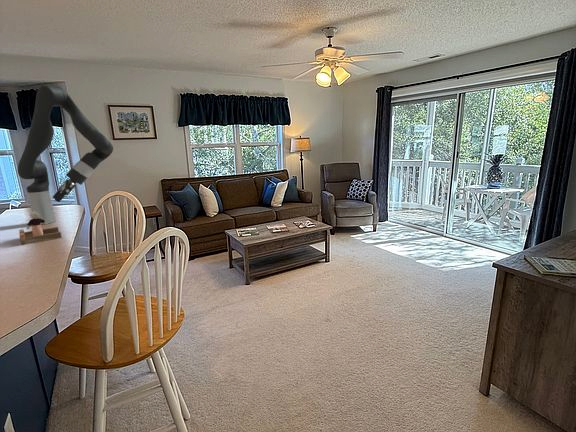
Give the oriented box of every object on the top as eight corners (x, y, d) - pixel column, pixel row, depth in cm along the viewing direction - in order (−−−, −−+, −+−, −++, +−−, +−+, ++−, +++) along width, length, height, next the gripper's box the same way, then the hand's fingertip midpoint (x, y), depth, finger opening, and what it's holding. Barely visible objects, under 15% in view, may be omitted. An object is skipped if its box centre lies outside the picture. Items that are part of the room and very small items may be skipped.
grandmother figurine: (33, 241, 137) (27, 213, 134) (28, 240, 138) (21, 212, 135) (51, 235, 144) (45, 209, 141) (46, 235, 145) (40, 208, 142)
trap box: (21, 238, 141) (19, 229, 140) (58, 231, 150) (56, 223, 149) (21, 244, 132) (19, 236, 131) (61, 237, 141) (59, 229, 140)
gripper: (70, 166, 149) (46, 192, 145) (74, 168, 139) (48, 196, 134) (85, 176, 154) (62, 202, 150) (90, 178, 143) (65, 206, 139)
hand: (55, 199), depth 142 cm, fingers open, 8 cm apart
